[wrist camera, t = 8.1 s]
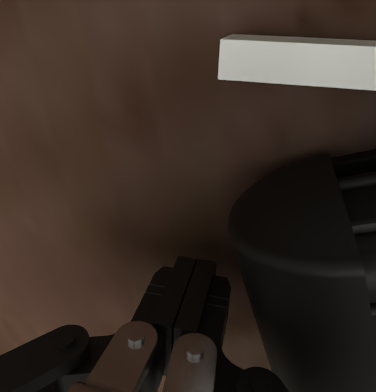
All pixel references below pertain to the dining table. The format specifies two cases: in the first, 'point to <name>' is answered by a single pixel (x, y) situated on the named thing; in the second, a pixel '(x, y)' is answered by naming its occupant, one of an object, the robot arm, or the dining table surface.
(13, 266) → the dining table surface
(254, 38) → the frame
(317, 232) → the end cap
